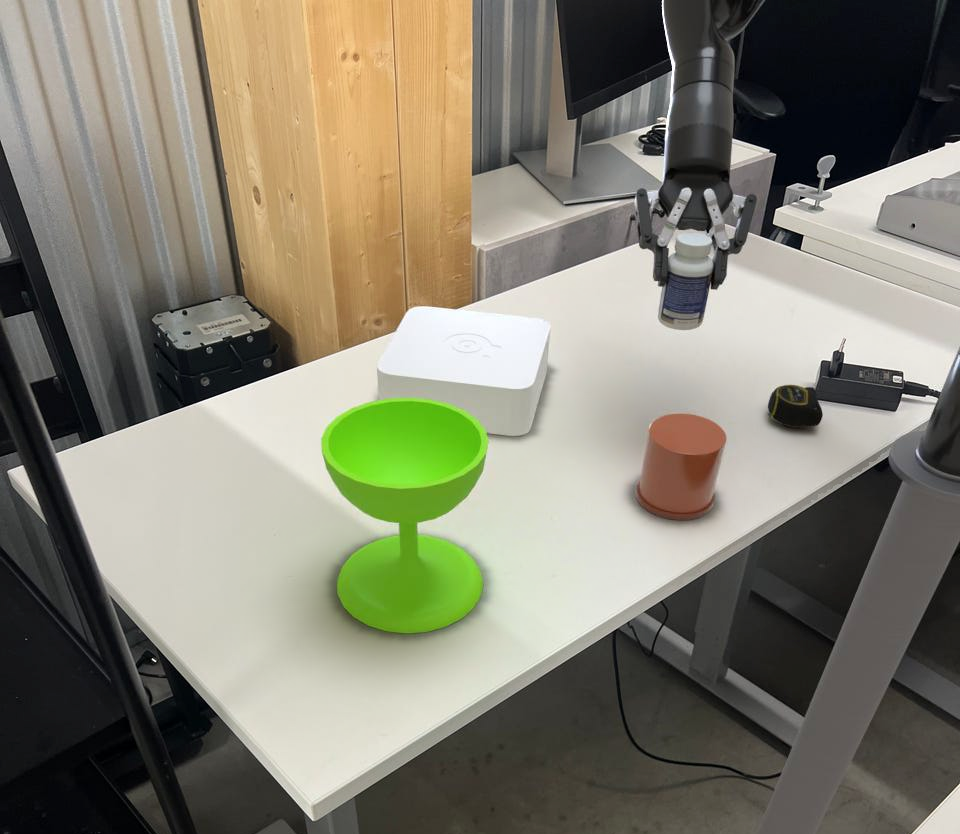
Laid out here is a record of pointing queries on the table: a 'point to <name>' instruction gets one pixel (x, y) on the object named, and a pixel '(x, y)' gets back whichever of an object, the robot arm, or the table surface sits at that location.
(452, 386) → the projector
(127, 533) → the table surface
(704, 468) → the tumbler
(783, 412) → the tape measure
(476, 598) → the wineglass
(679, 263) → the pill bottle
